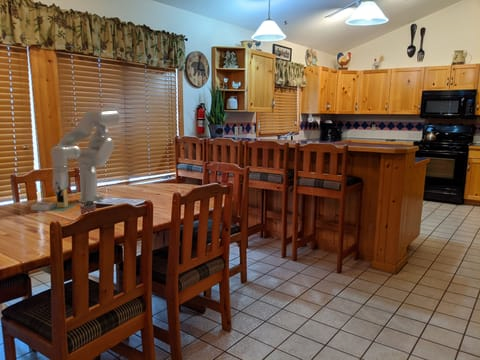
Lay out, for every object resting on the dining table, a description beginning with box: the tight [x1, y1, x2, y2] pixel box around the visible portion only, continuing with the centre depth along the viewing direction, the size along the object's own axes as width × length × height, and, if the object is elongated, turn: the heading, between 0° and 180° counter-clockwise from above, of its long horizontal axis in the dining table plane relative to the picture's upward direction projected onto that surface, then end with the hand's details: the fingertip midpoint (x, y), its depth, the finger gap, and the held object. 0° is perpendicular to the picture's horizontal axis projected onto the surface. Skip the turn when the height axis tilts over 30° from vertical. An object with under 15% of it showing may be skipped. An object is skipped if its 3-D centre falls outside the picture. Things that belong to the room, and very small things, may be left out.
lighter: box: [79, 200, 97, 215], centre depth 190 cm, size 8×3×10 cm, turn 141°
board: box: [30, 201, 75, 212], centre depth 209 cm, size 18×14×4 cm
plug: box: [55, 188, 69, 207], centre depth 210 cm, size 5×4×10 cm
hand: (62, 200), depth 210 cm, fingers closed on plug, 4 cm apart
